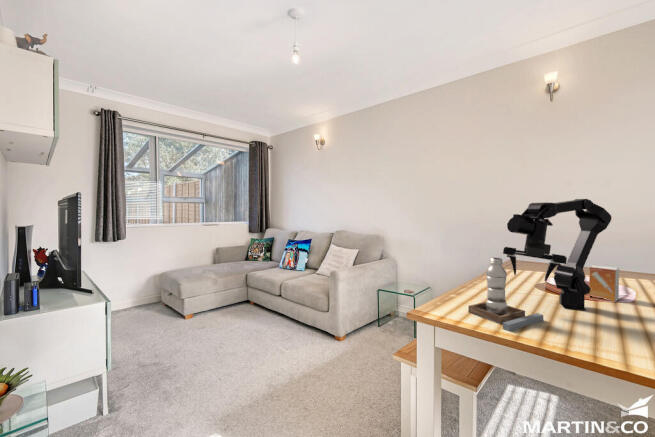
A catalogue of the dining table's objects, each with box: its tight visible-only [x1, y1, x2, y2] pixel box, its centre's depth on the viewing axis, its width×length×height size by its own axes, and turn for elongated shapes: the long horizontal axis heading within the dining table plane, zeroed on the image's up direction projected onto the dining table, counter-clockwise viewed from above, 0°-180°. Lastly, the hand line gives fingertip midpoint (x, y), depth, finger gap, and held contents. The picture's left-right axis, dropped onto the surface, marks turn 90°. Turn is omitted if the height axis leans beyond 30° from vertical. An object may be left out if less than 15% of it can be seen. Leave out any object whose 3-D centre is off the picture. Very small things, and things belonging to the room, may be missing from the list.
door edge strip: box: [502, 312, 544, 332], centre depth 94 cm, size 18×2×2 cm, turn 114°
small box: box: [588, 264, 620, 303], centre depth 119 cm, size 8×6×13 cm
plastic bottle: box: [485, 257, 508, 315], centre depth 103 cm, size 6×7×20 cm
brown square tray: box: [467, 301, 526, 325], centre depth 103 cm, size 13×13×2 cm
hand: (529, 278), depth 105 cm, fingers open, 9 cm apart
